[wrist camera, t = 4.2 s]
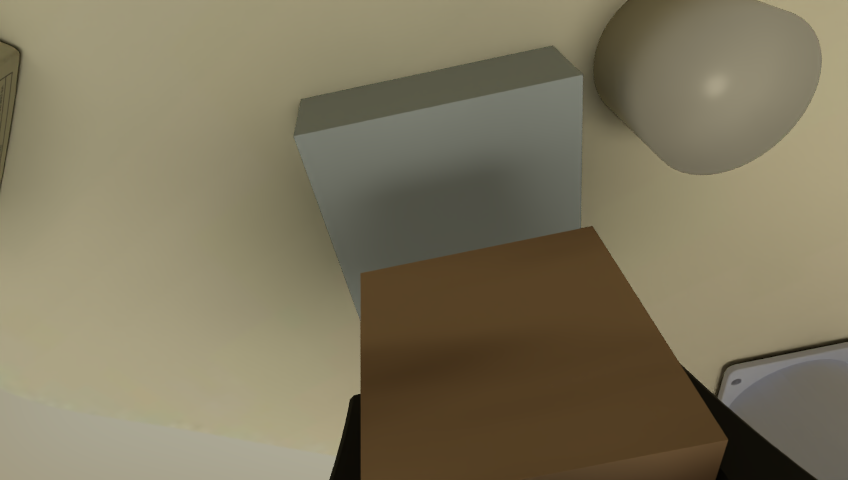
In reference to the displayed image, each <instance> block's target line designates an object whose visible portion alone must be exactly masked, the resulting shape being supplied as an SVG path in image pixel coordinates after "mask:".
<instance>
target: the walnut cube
mask: <svg viewBox="0 0 848 480" xmlns="http://www.w3.org/2000/svg"><path fill="white" fill-rule="evenodd" d="M360 283H361V480H716V477H717V473H718V470H719V467H720V464H721V461H722V458H723V455H724V452H725V448H726V445H727V442H728V439H727V437H726V435H725V434H724V432H723V431H722V429H721V428H720V426H719V424H718V423H717V421H716V420H715V418H714V417H713V415H712V413H711V412H710V410H709V409H708V407H707V406H706V404H705V402H704V401H703V399H702V398H701V396H700V395H699V393H698V391H697V390H696V388H695V387H694V385H693V383H692V382H691V380H690V379H689V377H688V376H687V374H686V372H685V371H684V369H683V368H682V366H681V365H680V363H679V361H678V360H677V358H676V357H675V355H674V354H673V352H672V350H671V349H670V347H669V346H668V344H667V343H666V341H665V339H664V338H663V336H662V335H661V333H660V332H659V330H658V328H657V327H656V325H655V324H654V322H653V321H652V319H651V317H650V316H649V314H648V313H647V311H646V310H645V308H644V306H643V305H642V303H641V302H640V300H639V298H638V297H637V295H636V294H635V292H634V291H633V289H632V287H631V286H630V284H629V283H628V281H627V280H626V278H625V276H624V275H623V273H622V272H621V270H620V269H619V267H618V265H617V264H616V262H615V261H614V259H613V258H612V256H611V254H610V253H609V251H608V250H607V248H606V247H605V245H604V243H603V242H602V240H601V239H600V237H599V236H598V234H597V232H596V231H595V229H594V228H593V226H590V227H585V228H580V229H575V230H570V231H565V232H560V233H556V234H551V235H546V236H541V237H536V238H531V239H526V240H521V241H516V242H511V243H506V244H501V245H497V246H492V247H487V248H482V249H477V250H472V251H467V252H462V253H457V254H452V255H447V256H442V257H437V258H433V259H428V260H423V261H418V262H413V263H408V264H403V265H398V266H393V267H388V268H383V269H378V270H373V271H369V272H364V273H360Z"/></svg>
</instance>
